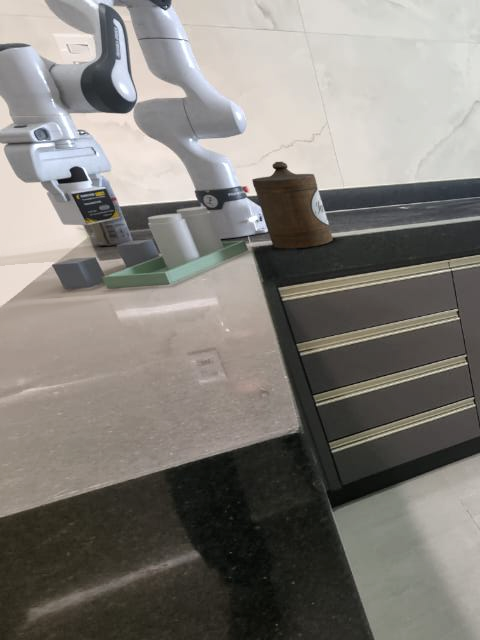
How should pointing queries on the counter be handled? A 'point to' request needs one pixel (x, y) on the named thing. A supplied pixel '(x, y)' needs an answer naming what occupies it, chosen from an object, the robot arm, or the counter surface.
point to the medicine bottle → (83, 200)
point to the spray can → (111, 224)
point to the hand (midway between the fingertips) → (81, 198)
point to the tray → (160, 275)
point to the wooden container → (292, 209)
